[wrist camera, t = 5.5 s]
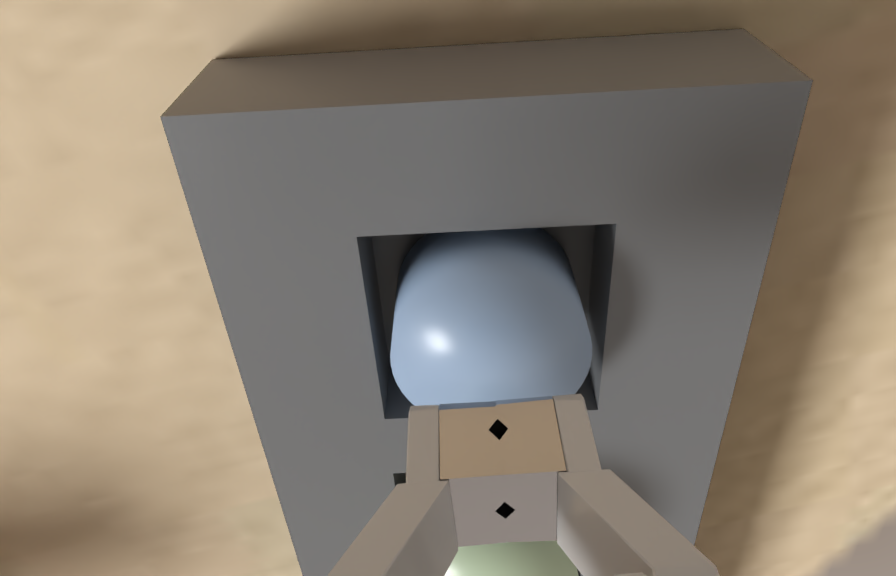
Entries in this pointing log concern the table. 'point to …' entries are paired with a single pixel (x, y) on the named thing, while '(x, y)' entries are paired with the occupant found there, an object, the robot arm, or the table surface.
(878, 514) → the table surface
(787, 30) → the table surface
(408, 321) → the button slate
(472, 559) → the button sage
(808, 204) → the table surface
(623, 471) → the console
